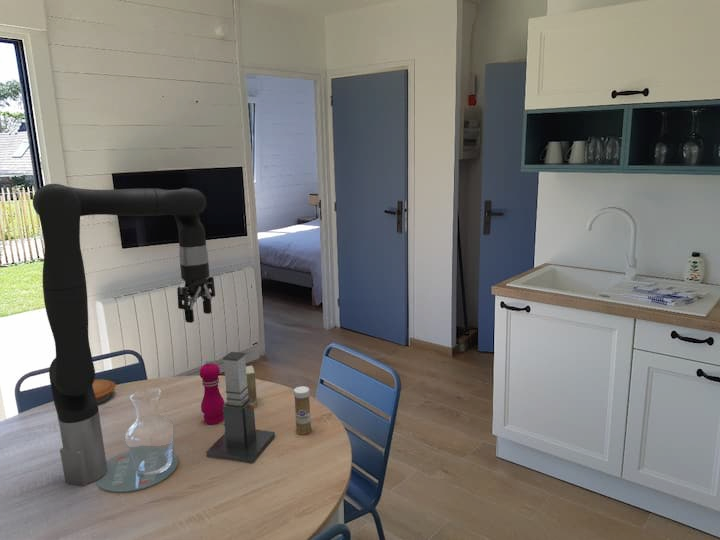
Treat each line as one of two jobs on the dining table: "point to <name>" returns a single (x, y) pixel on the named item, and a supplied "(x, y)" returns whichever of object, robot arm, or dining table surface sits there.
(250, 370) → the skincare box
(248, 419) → the base
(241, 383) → the post
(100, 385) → the pie
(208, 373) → the pepper mill
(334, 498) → the dining table surface
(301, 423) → the sprinkles bottle
